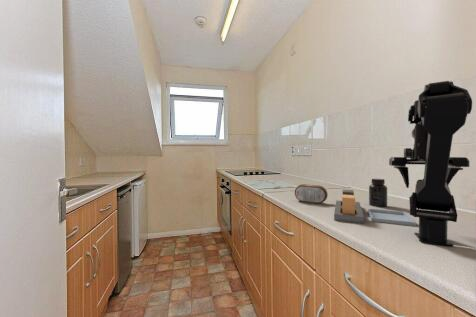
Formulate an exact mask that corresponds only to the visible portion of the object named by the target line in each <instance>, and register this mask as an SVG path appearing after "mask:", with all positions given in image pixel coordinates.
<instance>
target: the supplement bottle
mask: <svg viewBox="0 0 476 317" xmlns="http://www.w3.org/2000/svg"><path fill="white" fill-rule="evenodd" d="M368 205H369V206H372V207H376V208H387V207H388V187H387V185H385V179H383V178H371V184H370V185H369V186H368Z"/></svg>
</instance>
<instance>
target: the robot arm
mask: <svg viewBox="0 0 476 317" xmlns="http://www.w3.org/2000/svg"><path fill="white" fill-rule="evenodd" d="M472 109H473V99H472V96H471V95H470V93H469V91H468V90H467V89H466V88H462V87H460V86H458V85H455V84H454V82H453V81H449V80H445V81H436V82H431V83H430V82H429V83H428V84H425V85H424V89H423V91H422V92H421V93H420V94H418V98H417V100H415V101H414V102H413V104H412V105H410V108H408V114H407V116H408V117H407V122H409V125H414V128H412V131H411V137H412V138H413V139H414V143H413V148H410V147H409V148H406V147H405V148H404V149H403V156H391V157H390V158H389V159H388V165H389V166H391V167H393V168H394V169H397V170H398V171H399V173H400V175H401V177H402V179H403V182H404V185H405V188H407V189H410V188H409V187H410V180H409V178H410V176H409V167H408V166H406V165H424V171H423V172H424V173H423V178H422V179H417V181H416V183H415V190H414V192H411V193H412V194H411V195H410V196H409V216H412V217H413V218H418V232H414V235H415V236H416V237H417V238H418V240H419V242H421V243H425V244H433V245H440V246H445V247H446V246H448V247H454V243H452V242H451V241H450V240H449V239H448V222H453V223H457V221H458V211H457V207H456V202H455V198H454V195H453V194H452V193H451V190H450V184H451V181H452V180H453V178H454V177H455V176H456V175H457V174H458V172H459V171H463V170H464V168H470V160H469V158H468V157H463V156H462V157H461V156H456V157H455V156H450V155H451V150H452V143H453V136H454V135H455V134H456V133H458V131H459V130H460V129H462V128H463V127H464V126H465V125H466V121H467V117H468V115H470V114H471V112H472Z"/></svg>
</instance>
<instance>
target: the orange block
mask: <svg viewBox="0 0 476 317" xmlns="http://www.w3.org/2000/svg"><path fill="white" fill-rule="evenodd" d="M341 197H342V200H341V201H342V213H345V214H355V202H356V196H355V194H354V195H343V194H342V196H341Z"/></svg>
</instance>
